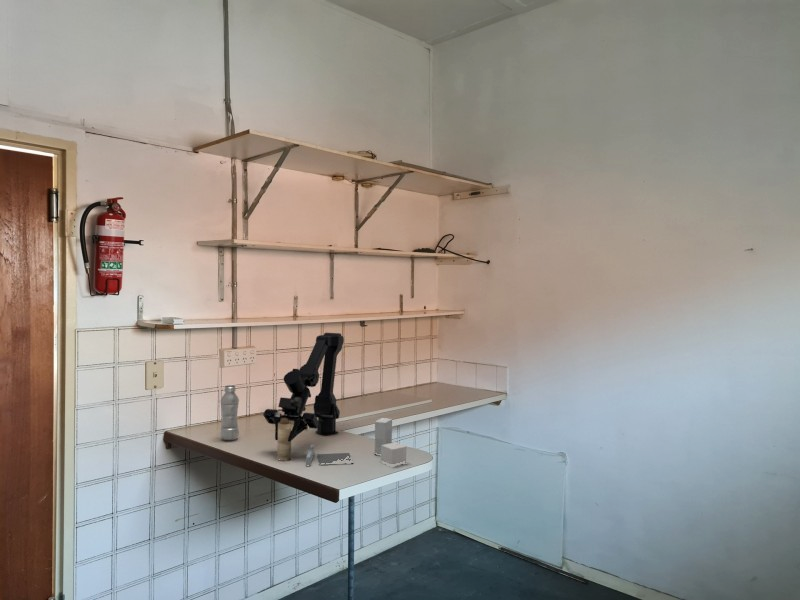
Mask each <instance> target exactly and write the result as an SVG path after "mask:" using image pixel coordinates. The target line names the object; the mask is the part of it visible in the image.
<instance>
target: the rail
mask: <svg viewBox="0 0 800 600" xmlns="http://www.w3.org/2000/svg"><path fill="white" fill-rule="evenodd" d="M315 447H316V445H315V444H310V447H309V448H308V449H309V450H308V452H307V454H306V457H305V466H306V465H310V466H311V464H312V462H313V459H312V458H314V456H315ZM313 455H314V456H313ZM311 461H312V462H311ZM310 463H311V464H310Z"/></svg>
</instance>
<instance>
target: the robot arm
mask: <svg viewBox="0 0 800 600" xmlns="http://www.w3.org/2000/svg"><path fill="white" fill-rule="evenodd" d="M344 338H345V337H344V336H343V335H342V333H339V332H338V333H337V332H324V334H322V335H320V334H319V335H318V336H316V338H315V342H314V346H313V347H312V350H311V351H310V352H311V353H310V354H309V357H308V359H307V360H306V363H305V364H303V365H302V366H301V367H300V368H292V370H291V371H288V372H287V373H286V374H285V375H284V376H283V382H284V384H285V386H286V387H287V389H288V391H289V392H290V393H291V396H290V398H289V397H280V398H279V402H278V408H281V412H282V413H281V412H278V410H277V409H273V408H267V409H265V410H264V411H263V413H262V415H263V417H264V419H265V421H267V423H268V424H270V425H274V427H275V429H274V432H275V433H274V440H276V441H278V423H280V421H281V419H282V418H284V417H286V418H288V420H289V422H293V426H292V427H291V433H290V435H289V438H288V441H289V442H290V441H291V442H292V440H294V439H295V438H296V437H297V436H298V435H299V434H301V433H302V432H303V431H305V430H307V429H308V428H309V429H315V433H317V434H319V435H322V436H330V435H335V434H338V433H339V431H337V430H336V426H337V425H336V422H337V419H339V418H340V413H341V411H340V409H339V407H338V405H337V398H336V396H335V394H334V387H335V379H336V377H335V376H336V368H337V357H338V354H339V353H340V352H341V351H342V350H343V349H342V348H343V345H344V343H345V339H344ZM323 359H324V360H323ZM322 362H323V367H322V377H321V385H320V386H321V387H320V392H319V393H318V394H317V395H315V397H314V404H313V413H312V412H305V411H306V409H307V408H306V403H307V401H308V399H309V398H311V397H312V394H311V391H310V388H313V387H316V386H317V384H319V380H320V373H319V369H320V367H321V364H322ZM309 387H310V388H309Z"/></svg>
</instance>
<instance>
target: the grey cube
mask: <svg viewBox="0 0 800 600" xmlns="http://www.w3.org/2000/svg"><path fill="white" fill-rule="evenodd" d="M381 460H382V461H384V462H387V463H389V464H396V463H400V462H403V461H406V462H407V446H406V445H404V444H401V443H398V442H392V443H390V444H385V445H381V456H380V461H381Z"/></svg>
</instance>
